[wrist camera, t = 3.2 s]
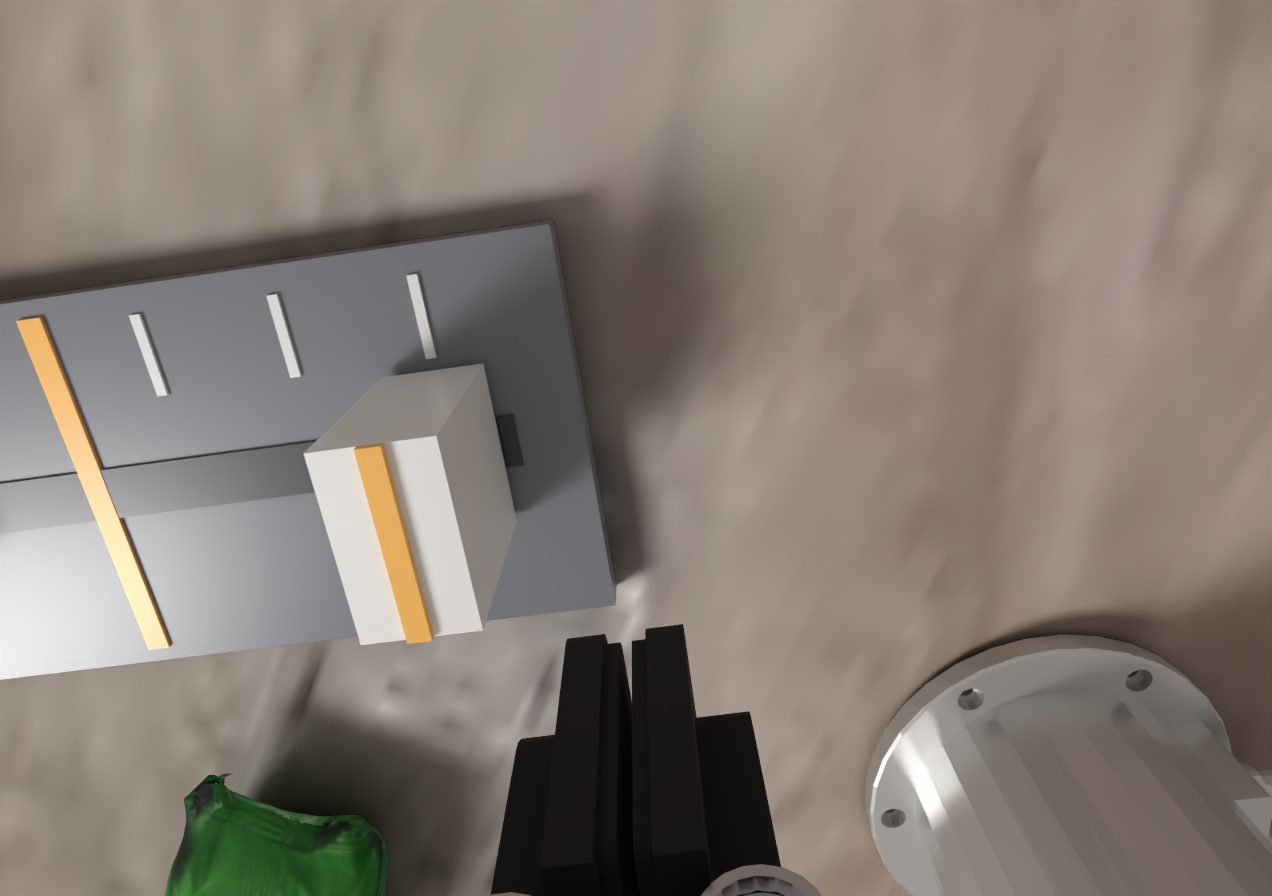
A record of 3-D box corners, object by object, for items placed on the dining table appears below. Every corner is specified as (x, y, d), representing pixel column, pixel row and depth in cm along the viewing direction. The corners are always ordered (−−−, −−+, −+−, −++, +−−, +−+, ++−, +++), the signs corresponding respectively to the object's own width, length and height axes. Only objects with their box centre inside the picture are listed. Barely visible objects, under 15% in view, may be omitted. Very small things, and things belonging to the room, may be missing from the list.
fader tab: (483, 363, 24) (434, 439, 19) (516, 521, 26) (481, 635, 20) (380, 377, 25) (300, 456, 19) (420, 533, 26) (358, 649, 20)
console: (553, 219, 24) (539, 235, 21) (616, 586, 29) (613, 648, 25) (-173, 325, 26) (-296, 356, 22) (-10, 662, 30) (-93, 731, 26)
